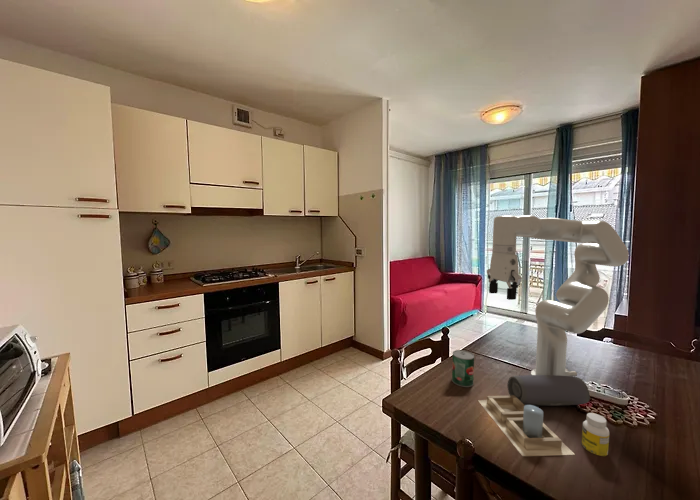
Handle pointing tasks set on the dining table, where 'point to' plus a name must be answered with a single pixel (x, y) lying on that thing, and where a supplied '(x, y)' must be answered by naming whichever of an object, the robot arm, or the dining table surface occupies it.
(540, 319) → the robot arm
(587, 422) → the supplement bottle
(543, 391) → the bluetooth speaker
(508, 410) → the cruet stand
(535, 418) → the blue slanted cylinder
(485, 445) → the dining table surface
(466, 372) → the canned tomato
